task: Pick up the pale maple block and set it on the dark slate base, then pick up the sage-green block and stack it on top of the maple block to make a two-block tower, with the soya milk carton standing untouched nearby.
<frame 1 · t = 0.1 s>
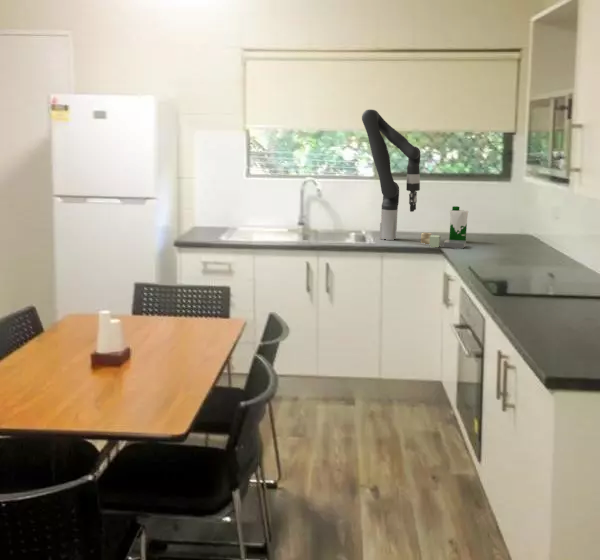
hand: (412, 210, 481), 17 cm above the table, tool pointing down, fingers open, 8 cm apart
maple block: (425, 243, 473), on the table
sage block: (434, 246, 463), on the table
slate base: (454, 246, 464), on the table
soya milk: (457, 242, 483), on the table
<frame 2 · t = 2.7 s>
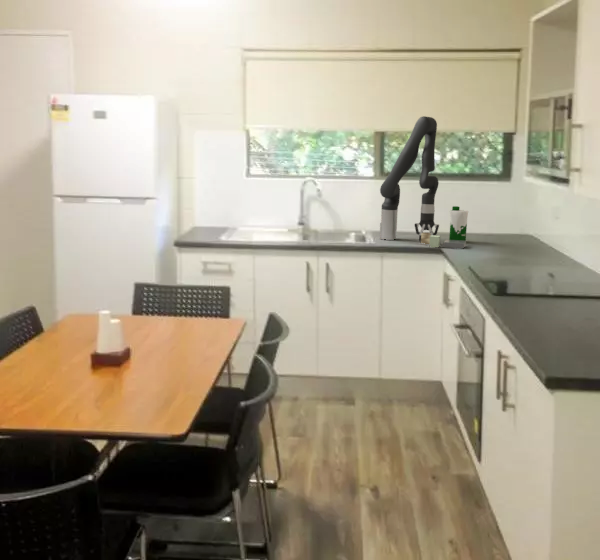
hand: (426, 242, 473), 1 cm above the table, tool pointing down, fingers closed on maple block, 5 cm apart
maple block: (425, 243, 473), on the table, touching gripper
everything else where it was.
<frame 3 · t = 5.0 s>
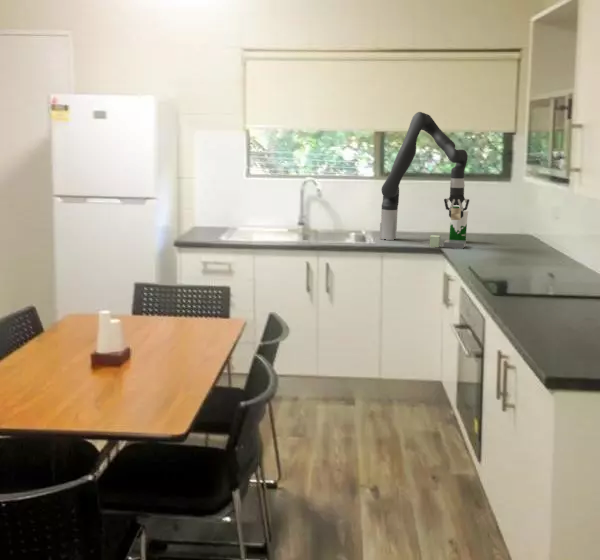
hand: (456, 217, 461), 16 cm above the table, tool pointing down, fingers closed on maple block, 5 cm apart
maple block: (456, 219, 461), point 15 cm above the table, touching gripper
everything else where it was.
when the fingers open (5 cm above the table, at t = 7.5 s): maple block stays where it is, resting on slate base.
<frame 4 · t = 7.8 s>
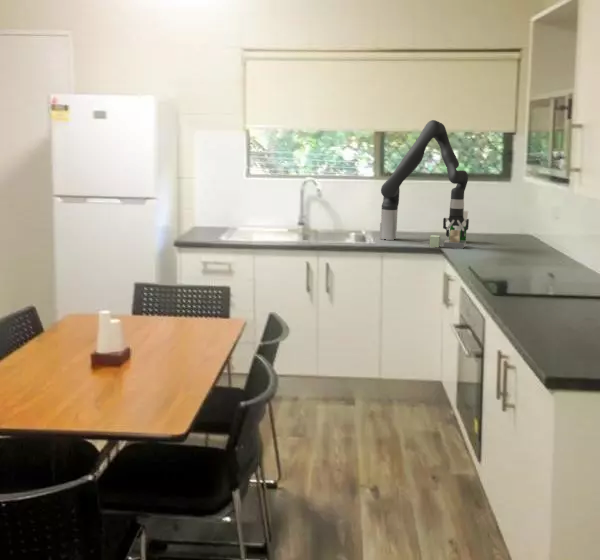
hand: (455, 237, 463), 5 cm above the table, tool pointing down, fingers open, 7 cm apart
maple block: (454, 241, 463), point 3 cm above the table, touching slate base
everything else where it was.
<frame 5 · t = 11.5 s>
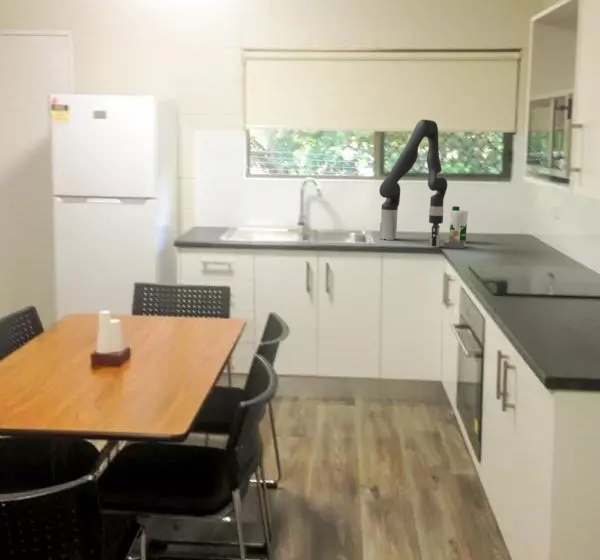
hand: (434, 245, 463), 1 cm above the table, tool pointing down, fingers closed on sage block, 5 cm apart
sage block: (434, 246, 463), on the table, touching gripper
everything else where it was.
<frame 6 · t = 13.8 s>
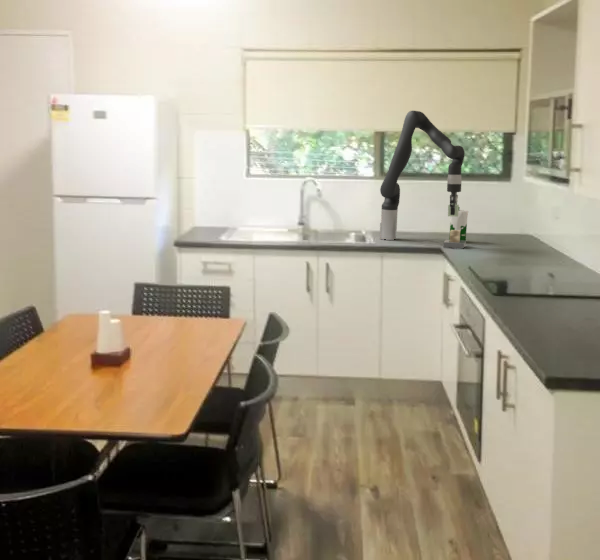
hand: (453, 214, 460), 18 cm above the table, tool pointing down, fingers closed on sage block, 5 cm apart
sage block: (453, 215, 460), point 17 cm above the table, touching gripper
everything else where it was.
when the fingers open (11 cm above the table, at t = 15.9 s): sage block stays where it is, resting on maple block.
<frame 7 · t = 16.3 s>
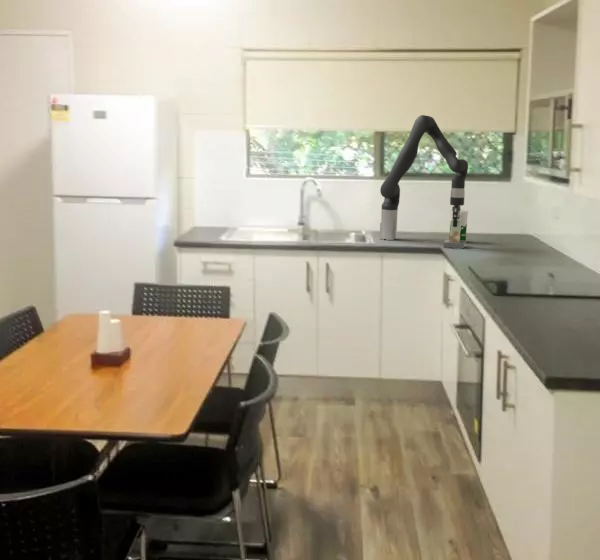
hand: (455, 225, 462), 12 cm above the table, tool pointing down, fingers open, 8 cm apart
maple block: (454, 241, 463), point 3 cm above the table, touching sage block, slate base
sage block: (455, 230, 462), point 9 cm above the table, touching maple block
everything else where it was.
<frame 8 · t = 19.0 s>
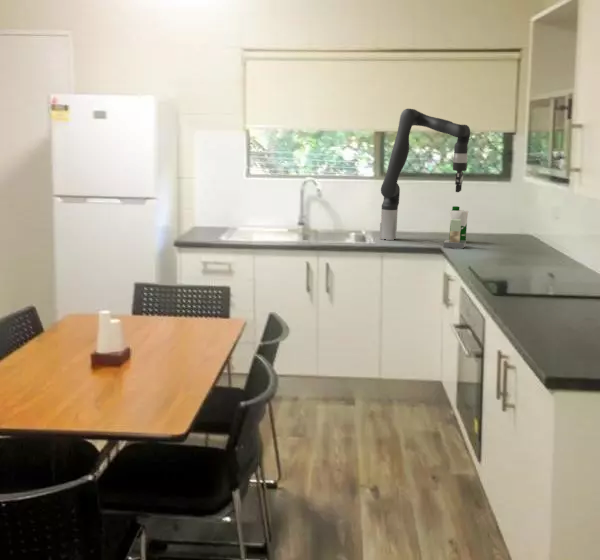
hand: (458, 191, 462), 30 cm above the table, tool pointing down, fingers open, 8 cm apart
nothing on the table moved.
at the end: maple block 0.1 cm off-centre on the slate base, point 3.0 cm above the slate base's base; sage block 0.1 cm off-centre on the maple block, point 6.0 cm above the maple block's base; sage block tilted 0° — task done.
